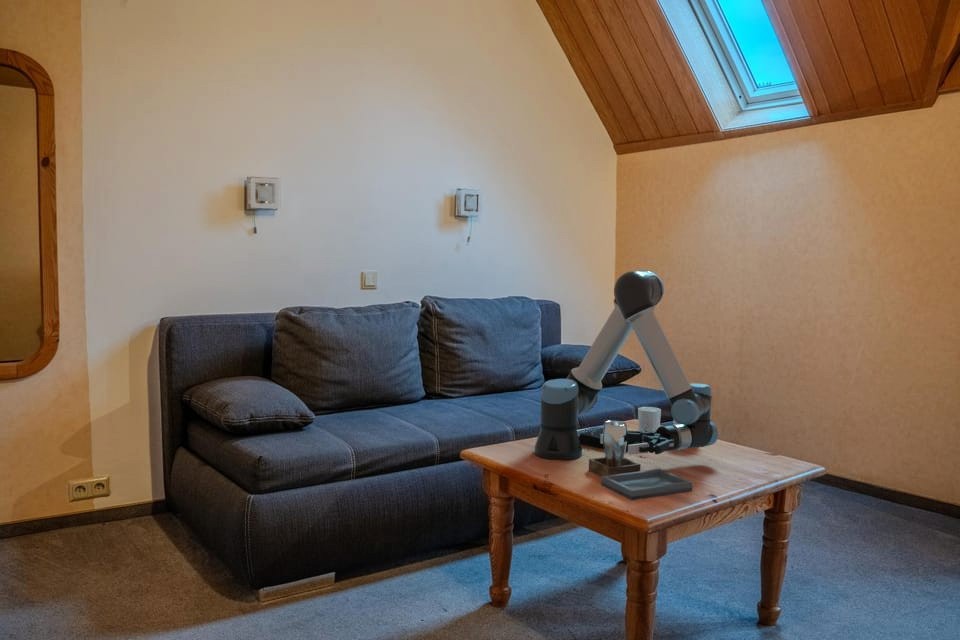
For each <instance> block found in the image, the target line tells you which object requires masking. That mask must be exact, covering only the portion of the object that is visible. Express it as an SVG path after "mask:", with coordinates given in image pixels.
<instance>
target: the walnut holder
mask: <svg viewBox="0 0 960 640" xmlns="http://www.w3.org/2000/svg"><path fill="white" fill-rule="evenodd" d="M588 471H589V472H591V473H592V474H595V475H597V476H599V477H601V476H608V475H615V474H623V473H630V472H638V471H641V464H640V463H638V462H635V461H633V460H630V459H628V458H626V457H624V466H618V467H608V466H606V465H605V456H604V457H594V458H589V459H588Z"/></svg>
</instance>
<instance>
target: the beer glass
mask: <svg viewBox="0 0 960 640" xmlns="http://www.w3.org/2000/svg"><path fill="white" fill-rule="evenodd" d="M603 428H604V430H603V446H604V450H603V451H604V457H605V465H606V466H608V467H618V466H624V458H625V456H626V455H625V454H626V452H627V451H626V446H627V430H628V423H627V422H625V421H621V420H607V421H604V423H603ZM625 451H626V452H625Z"/></svg>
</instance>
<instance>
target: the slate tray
mask: <svg viewBox="0 0 960 640" xmlns="http://www.w3.org/2000/svg"><path fill="white" fill-rule="evenodd" d="M600 477H601V479H600V480H601V481H600V485H601V487H603V488H606V489H607V490H610V491H611V492H614V493H616V494H618V495H619V496H622V497H624V498H626V499H627V500H630V501H635V500H644V499H649V498H655V497H656V498H657V497H662V496H671V495H675V494H676V495H677V494H682V493H690V492H693V481H690V480H688V479H685V478H683V477H681V476H679V475H676V474H673V473H671V472H668V471H665V470H664V469H662V468H653V469H647V470H646V469H645V470H640V471H638V472H630V473H623V474H615V475H608V476H600Z"/></svg>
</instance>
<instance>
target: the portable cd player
mask: <svg viewBox="0 0 960 640" xmlns="http://www.w3.org/2000/svg"><path fill="white" fill-rule="evenodd" d="M603 430H604V427H600V428H597V429H596V428H595V429H593V430H588V431H584V432H581V433H579V434H578V436H579V440H580V443H581V446H582V445H583V446H587V447H591V448H596V449H600V450H603V451H604V446H603V444H601V443H600V434H603ZM642 441H644V440H643V439H642ZM632 444H640V442H632V441H627V446H626V451H625V453H626V452H628V445H632Z"/></svg>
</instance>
